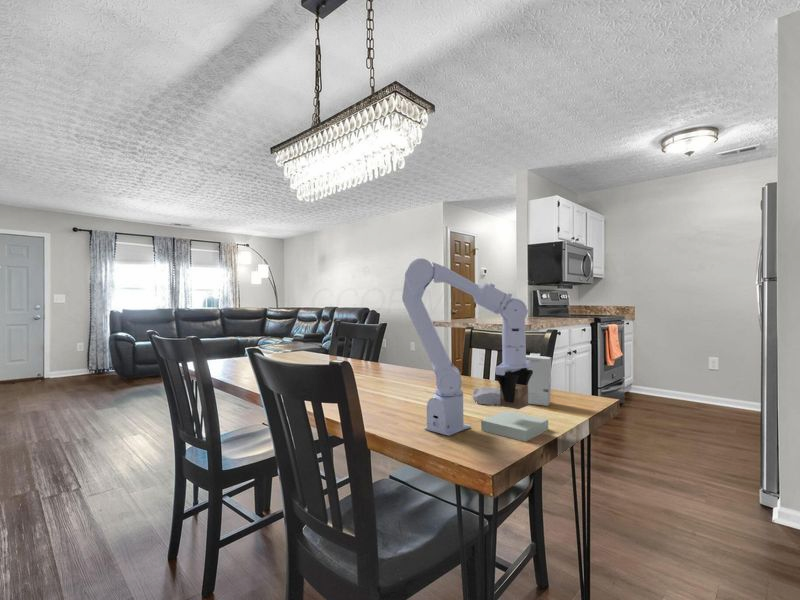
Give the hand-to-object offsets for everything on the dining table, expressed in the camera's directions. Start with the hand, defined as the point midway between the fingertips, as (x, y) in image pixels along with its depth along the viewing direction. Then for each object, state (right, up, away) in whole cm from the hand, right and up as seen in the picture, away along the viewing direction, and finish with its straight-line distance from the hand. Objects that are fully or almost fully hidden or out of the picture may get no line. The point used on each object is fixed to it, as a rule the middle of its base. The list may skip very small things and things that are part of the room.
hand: (514, 399), depth 100 cm
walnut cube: (0, -2, 0) cm, 2 cm away
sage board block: (0, -8, 0) cm, 8 cm away
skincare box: (+15, -8, +26) cm, 31 cm away
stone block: (0, -8, +30) cm, 31 cm away
